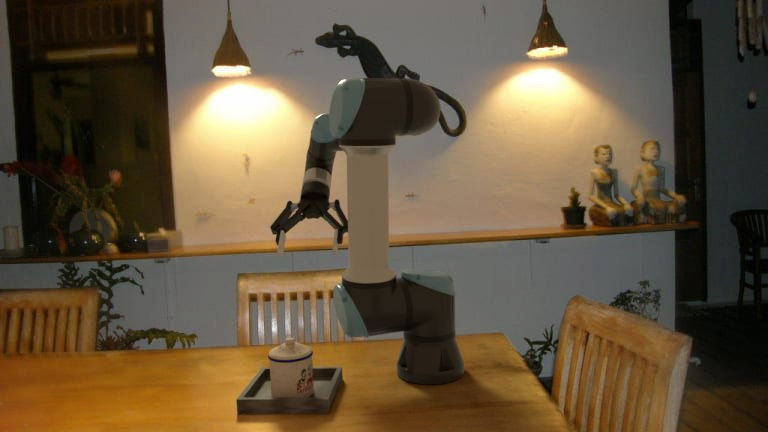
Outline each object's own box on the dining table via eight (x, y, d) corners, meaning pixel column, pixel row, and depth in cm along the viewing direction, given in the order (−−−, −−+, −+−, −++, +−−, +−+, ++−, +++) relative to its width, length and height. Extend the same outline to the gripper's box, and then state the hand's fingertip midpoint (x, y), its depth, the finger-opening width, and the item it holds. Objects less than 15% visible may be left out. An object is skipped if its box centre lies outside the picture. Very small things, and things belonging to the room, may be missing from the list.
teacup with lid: (305, 404, 120) (302, 346, 119) (262, 401, 122) (259, 344, 121) (326, 381, 131) (323, 329, 130) (286, 379, 134) (283, 327, 132)
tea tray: (342, 379, 135) (342, 366, 135) (328, 414, 117) (328, 399, 117) (263, 380, 137) (262, 367, 136) (237, 414, 119) (236, 399, 118)
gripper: (364, 197, 164) (359, 261, 151) (273, 199, 166) (260, 264, 153) (361, 178, 159) (356, 243, 145) (266, 181, 161) (253, 246, 147)
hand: (307, 254), depth 149 cm, fingers open, 13 cm apart
